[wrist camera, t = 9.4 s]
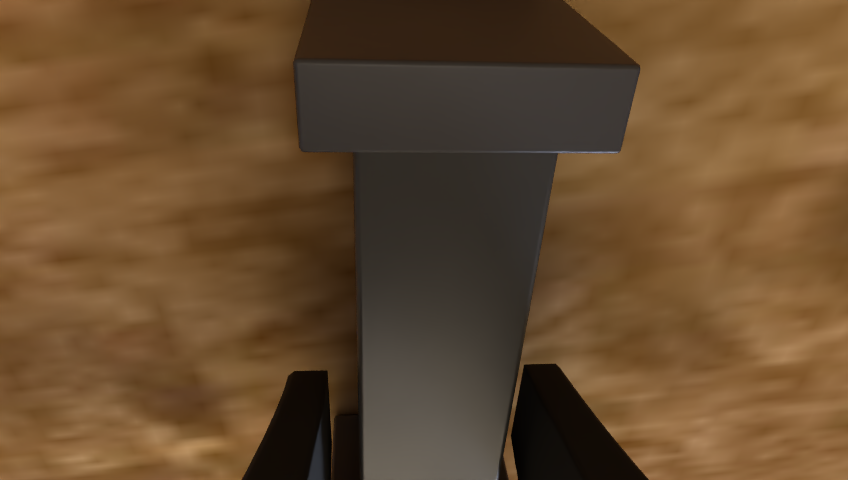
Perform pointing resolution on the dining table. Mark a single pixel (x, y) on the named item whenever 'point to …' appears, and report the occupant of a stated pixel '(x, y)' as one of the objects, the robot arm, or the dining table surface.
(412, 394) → the racket
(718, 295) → the dining table surface
